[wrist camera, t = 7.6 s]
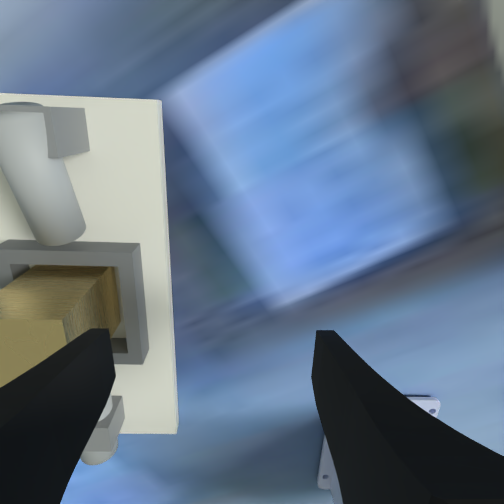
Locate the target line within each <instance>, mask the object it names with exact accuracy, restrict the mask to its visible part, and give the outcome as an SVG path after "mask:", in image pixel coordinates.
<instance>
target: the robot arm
mask: <svg viewBox="0 0 504 504" xmlns="http://www.w3.org/2000/svg"><path fill="white" fill-rule="evenodd" d="M115 378H116V372H115V366H114V359H113V353H112V346H111V340H110V333H109V328H91V329H89V330H87V331H86V332H84V333H83V334H81V335H80V336H78V337H77V338H75V339H74V340H72V341H71V342H69V343H68V344H67V345H65V346H64V347H62V348H61V349H59V350H58V351H56V352H55V353H53V354H52V355H51V356H49V357H48V358H46V359H45V360H43V361H42V362H40V363H39V364H37V365H36V366H34V367H33V368H31V369H29V370H28V371H26V372H25V373H23V374H21V375H20V376H18V377H17V378H15V379H14V380H12V381H10V382H9V383H7V384H5V385H4V386H2V387H0V504H60V502H61V500H62V497H63V494H64V492H65V489H66V487H67V484H68V482H69V480H70V478H71V475H72V473H73V471H74V469H75V467H76V465H77V463H78V461H79V459H80V457H81V455H82V453H83V451H84V449H85V447H86V445H87V443H88V441H89V439H90V437H91V435H92V433H93V431H94V429H95V427H96V425H97V423H98V420H99V418H100V416H101V414H102V412H103V410H104V408H105V406H106V404H107V401H108V398H109V396H110V393H111V390H112V387H113V384H114V381H115ZM311 378H312V384H313V390H314V396H315V401H316V406H317V410H318V413H319V416H320V420H321V423H322V427H323V430H324V433H325V435H324V441H323V447H322V453H321V460H320V466H319V472H318V478H317V484H318V487H319V488H321V489H331V494H332V498H333V502H334V504H504V456H502V455H500V454H498V453H496V452H494V451H492V450H490V449H488V448H487V447H485V446H483V445H481V444H479V443H477V442H475V441H474V440H472V439H470V438H468V437H467V436H465V435H463V434H461V433H460V432H458V431H456V430H454V429H453V428H451V427H450V426H448V425H447V424H445V423H443V422H442V421H440V420H439V419H437V415H438V412H439V408H440V402H439V400H438V399H437V398H435V397H406V396H404V395H403V394H402V393H400V392H399V391H398V390H397V389H395V388H394V387H393V386H392V385H391V384H389V383H388V382H387V381H386V380H385V379H383V378H382V377H381V376H380V375H379V374H378V373H377V372H375V371H374V370H373V369H372V368H371V367H370V366H369V365H368V364H367V363H366V362H365V361H364V360H363V359H362V358H361V357H360V356H359V355H358V354H357V353H356V352H355V351H354V350H353V349H352V348H351V347H350V346H349V345H348V344H347V343H346V342H345V341H344V340H343V339H342V338H341V337H340V336H339V335H338V334H337V333H336V332H335V331H334V330H317V331H316V340H315V349H314V358H313V367H312V376H311Z"/></svg>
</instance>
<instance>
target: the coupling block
mask: <svg viewBox="0 0 504 504" xmlns="http://www.w3.org/2000/svg"><path fill="white" fill-rule="evenodd" d="M120 322H121V318H120V310H119V301H118V293H117V285H116V277H115V269H114V267H112V266H73V265H35V266H33V267H32V268H31V269H29V270H28V271H26V272H25V273H24V274H22V275H21V276H19V277H18V278H17V279H15V280H14V281H12V282H11V283H10V284H8V285H7V286H6V287H4V288H3V289H1V290H0V387H2V386H4V385H5V384H7V383H9V382H10V381H12V380H14V379H15V378H17V377H18V376H20V375H21V374H23V373H25V372H26V371H28V370H29V369H31V368H33V367H34V366H36V365H37V364H39V363H40V362H42V361H43V360H45V359H46V358H48V357H49V356H51V355H52V354H53V353H55V352H56V351H58V350H59V349H61V348H62V347H64V346H65V345H67V344H68V343H69V342H71V341H72V340H74V339H75V338H77V337H78V336H80V335H81V334H83V333H84V332H86V331H87V330H89V329H91V328H109V333H110V339H111V337H112V336H113V334H114V332H115V331H116V329H117V327H118V326H119V324H120Z"/></svg>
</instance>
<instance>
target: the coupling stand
mask: <svg viewBox="0 0 504 504" xmlns="http://www.w3.org/2000/svg"><path fill="white" fill-rule="evenodd" d="M35 265H73V266H112V267H114V269H115V277H116V285H117V293H118V301H119V310H120V318H121V322H120V324H119V326H118V327H117V329H116V331H115V332H114V334H113V336H112V337H111V339H110V340H111V346H112V353H113V359H114V366H115V372H116V378H115V381H114V384H113V387H112V390H111V393H110V396H109V398H108V401H107V404H106V406H105V408H104V410H103V412H102V414H101V416H100V418H99V420H98V423H97V425H96V427H95V429H94V431H93V433H92V435H91V437H90V439H89V441H88V443H87V445H86V447H85V449H84V451H83V453H82V455H81V457H80V458H81V460H82V462H84V463H85V464H87V465H98V464H101V463H103V462H105V461H107V460H108V459H110V458H111V457H112V456H113V455H114V453H115V452H116V450H117V448H118V438H117V437H118V435H119V433H125V434H177V429H178V424H179V415H178V397H177V378H176V360H175V342H174V323H173V305H172V286H171V268H170V249H169V231H168V212H167V194H166V175H165V157H164V138H163V120H162V101H160V100H148V99H124V98H101V97H77V96H54V95H30V94H7V93H0V290H1V289H3V288H4V287H6V286H7V285H8V284H10V283H11V282H12V281H14V280H15V279H17V278H18V277H19V276H21V275H22V274H24V273H25V272H26V271H28V270H29V269H31V268H32V267H33V266H35Z"/></svg>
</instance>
